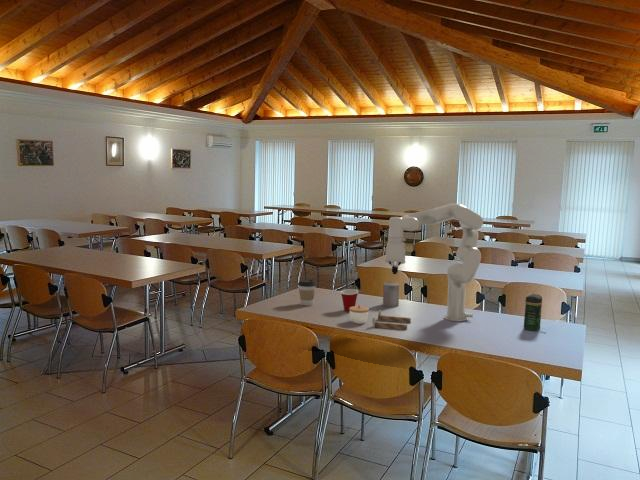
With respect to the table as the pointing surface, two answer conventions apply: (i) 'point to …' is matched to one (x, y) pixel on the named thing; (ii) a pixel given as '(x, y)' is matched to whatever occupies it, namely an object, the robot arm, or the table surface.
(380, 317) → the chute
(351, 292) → the plastic cup
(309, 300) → the coffee cup
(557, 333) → the table surface
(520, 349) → the table surface
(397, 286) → the pillar candle
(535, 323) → the coffee jar
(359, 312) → the lidded jar
